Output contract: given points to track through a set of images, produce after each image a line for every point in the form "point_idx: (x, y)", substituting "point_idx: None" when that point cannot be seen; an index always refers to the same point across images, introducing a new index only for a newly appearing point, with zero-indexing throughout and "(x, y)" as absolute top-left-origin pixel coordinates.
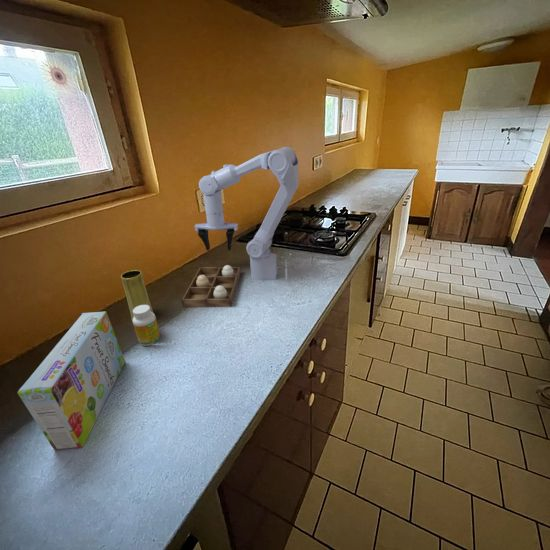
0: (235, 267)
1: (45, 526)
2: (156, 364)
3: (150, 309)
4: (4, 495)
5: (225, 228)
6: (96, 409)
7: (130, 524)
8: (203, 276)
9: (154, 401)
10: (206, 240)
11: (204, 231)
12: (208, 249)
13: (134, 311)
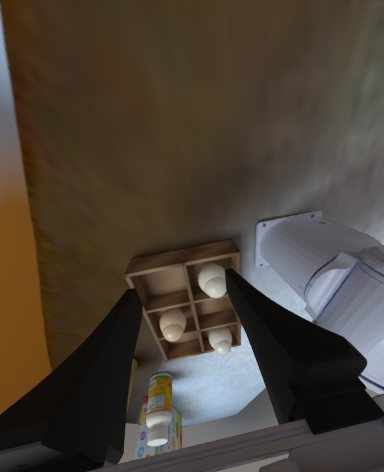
0: (228, 256)
1: (191, 423)
2: (187, 386)
3: (132, 376)
4: None
5: (292, 454)
6: (176, 418)
7: (222, 415)
8: (178, 338)
9: (203, 397)
10: (129, 368)
11: (92, 469)
12: (142, 310)
13: (152, 445)
